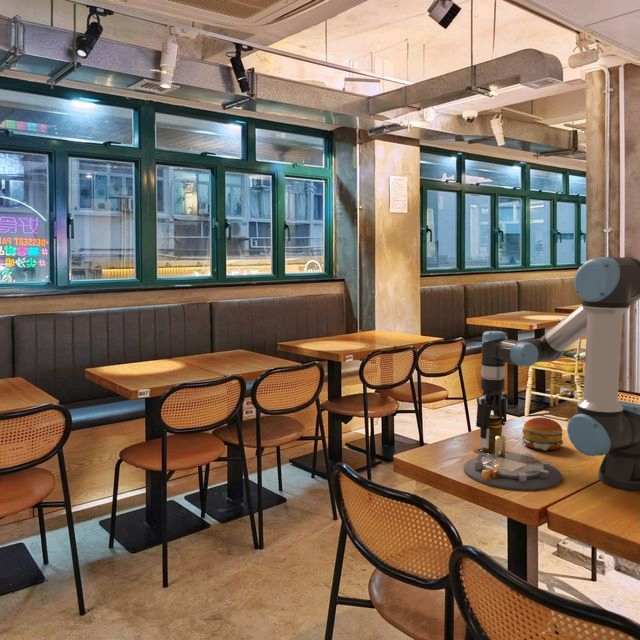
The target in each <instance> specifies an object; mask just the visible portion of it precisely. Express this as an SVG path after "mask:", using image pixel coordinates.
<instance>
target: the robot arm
mask: <svg viewBox="0 0 640 640" xmlns="http://www.w3.org/2000/svg"><path fill="white" fill-rule="evenodd" d="M573 287H574V290H575V292H576V293H577V295H578V297H579V298H580V299H582V300H581V303H582V304H581V305H580V306H579V307H577V308H576V309H575V310H573V311H572V312H571V313H570V314H568V315H567V316H565V318H563V319H562V320H561V321H560V322H559V323H557V324H556V325H555V326H554V327H552V328H551V329H550V330H549V331H547V332H546V333H545V334H543V336H541V337H540V338H535V339H534V338H532V339H523V340H514V339H507V334H506V332H505V331H500V330H486V331H484V332H483V333H482V337H481V338H482V339H481V374H480V375H481V378H480V388H481V390H483V392H482V396H481V397H477V398H476V403H477V407H476V408H477V409H476V423H475V427H477V428H480V434H479V435H480V436H479V437H480V448H482V447H483V448H487V449H488V448H489V429H487V428H488V424H489V419H490V415H492V412H493V415H496V416H499V417H501V423H500V424H501V426H502V427H503V426H505V425H506V423H507V399H508V393H505V392H502V391H504V390H505V379H504V378H505V377H506V364H510V365H511V364H512V365H516V366H518V367H531V366H533V365H534V364H536V363H545V362H553V361H558V360H560V359H561V358H562V357H563V356H564V353H565V350H566V349H567V348H569V347H570V346H571V345H573V344H574V343H576V342H577V341H578V340H579V339H581V338H582V337H584V336H585V335H586V336H585V337H586V339H585V340H586V342H585V343H586V344H585V363H584V384H583V398H582V399H580V401H578V403H577V404H576V414H575V415H573V416H572V417H571V418H570V419H569V421H568V423H567V427H566V430H567V431H566V432H567V436H568V439H569V441H570V443H571V445H573V447H574V448H575V449H576V450H577V451H578V452H580V453H581V454H583V455H585V456H588V457H596V456H597V457H598V456H600V457H601V456H604V457H603V459H602V462H601V464H600V466H599V468H598V473H597V474H598V476H597V478H598V480H599V481H600V482H601V483H603V484H605V485H606V486H610V487H613V488H617V489H621V490H628V491H635V492H636V491H637V492H638V491H640V404H639V403H636V402H631V401H630V402H628V401H621V400H619V384H620V383H619V382H620V381H619V380H620V365H621V363H620V362H621V349H622V348H621V347H622V345H621V344H622V330H623V314H624V313H625V312H627V311H628V310H629V309H630V306H631V305H633V304H634V303H635V302H636V301H638V300H639V299H640V259H638V258H636V257H629V256H624V257H621V256H619V257H617V256H614V257H613V256H611V257H610V256H602V257H601V256H600V257H595V258H594V257H593V258H591V259H588V260H585V262H583V263H582V264H581V265H580V266H579V268H578V269H577V271H576V273H575V276H574V280H573ZM502 432H503V430H502V431H501V434H502Z"/></svg>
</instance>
